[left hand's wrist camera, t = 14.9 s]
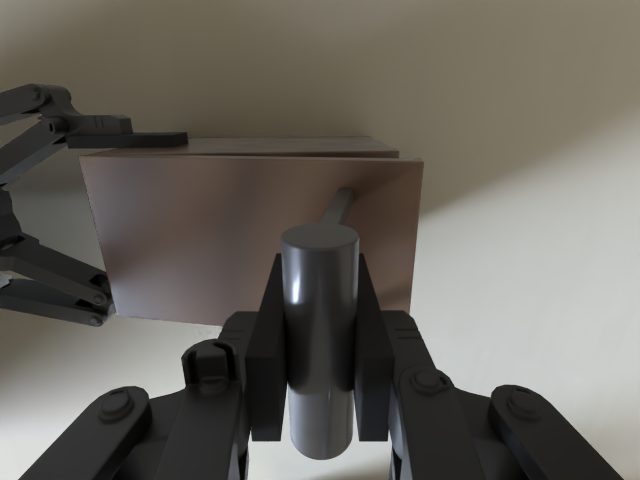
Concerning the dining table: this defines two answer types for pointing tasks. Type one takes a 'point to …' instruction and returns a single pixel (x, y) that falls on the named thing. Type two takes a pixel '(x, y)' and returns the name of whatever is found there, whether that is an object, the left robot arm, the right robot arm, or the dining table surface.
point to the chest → (273, 147)
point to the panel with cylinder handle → (263, 255)
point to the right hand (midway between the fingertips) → (191, 214)
